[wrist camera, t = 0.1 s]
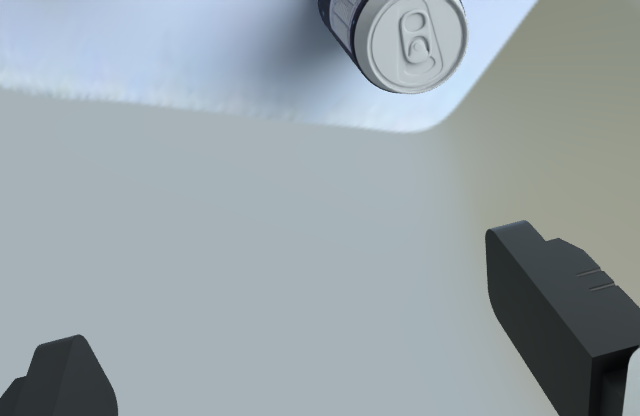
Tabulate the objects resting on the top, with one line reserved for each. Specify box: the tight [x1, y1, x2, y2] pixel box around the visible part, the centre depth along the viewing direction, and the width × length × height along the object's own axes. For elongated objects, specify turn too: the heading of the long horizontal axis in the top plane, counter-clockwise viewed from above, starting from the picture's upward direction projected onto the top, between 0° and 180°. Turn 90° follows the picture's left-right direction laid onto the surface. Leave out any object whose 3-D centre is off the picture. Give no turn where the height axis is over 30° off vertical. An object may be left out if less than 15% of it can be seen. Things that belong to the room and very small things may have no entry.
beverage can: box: [318, 0, 469, 94], centre depth 33 cm, size 6×6×12 cm
